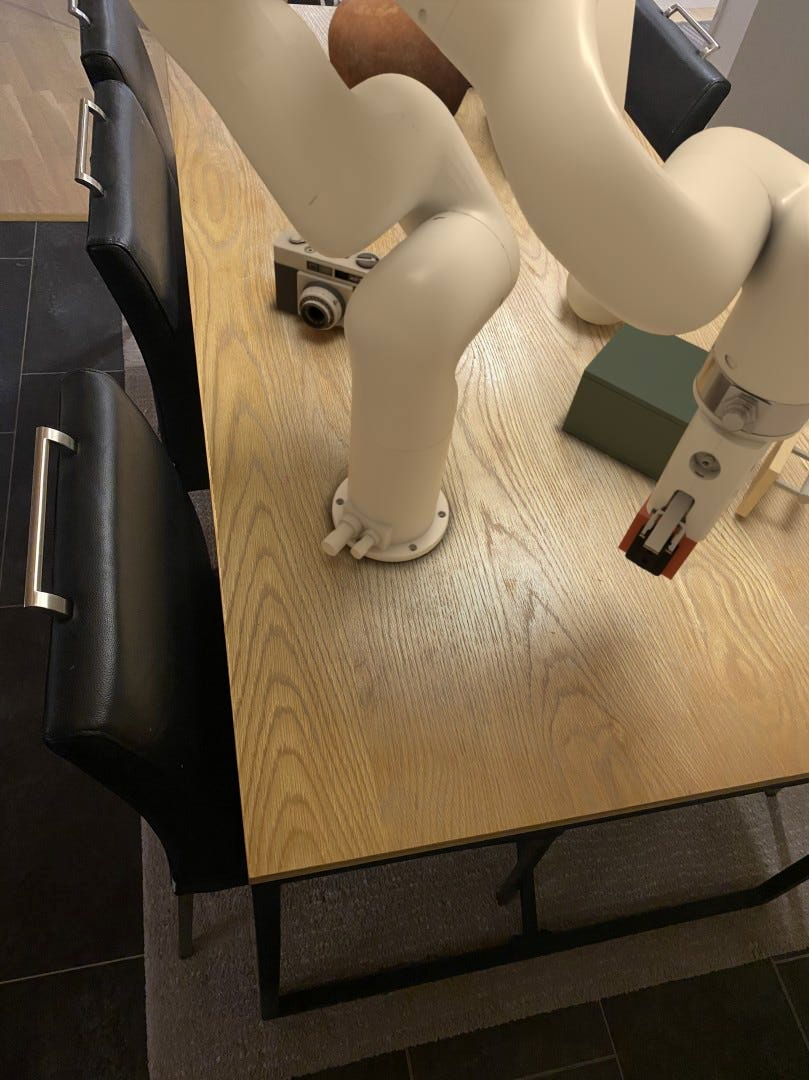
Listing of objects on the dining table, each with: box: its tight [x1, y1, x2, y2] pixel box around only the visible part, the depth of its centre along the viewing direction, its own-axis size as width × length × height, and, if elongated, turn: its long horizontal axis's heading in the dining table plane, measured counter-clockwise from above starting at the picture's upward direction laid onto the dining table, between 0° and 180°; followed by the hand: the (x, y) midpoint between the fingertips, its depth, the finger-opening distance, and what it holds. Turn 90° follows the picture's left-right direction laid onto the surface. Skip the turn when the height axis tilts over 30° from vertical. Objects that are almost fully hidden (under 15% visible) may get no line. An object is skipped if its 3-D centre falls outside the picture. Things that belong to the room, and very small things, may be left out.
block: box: [617, 491, 699, 581], centre depth 62 cm, size 5×5×5 cm
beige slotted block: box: [597, 0, 636, 116], centre depth 120 cm, size 19×15×25 cm
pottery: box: [327, 0, 470, 118], centre depth 119 cm, size 23×23×25 cm
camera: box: [272, 227, 386, 331], centre depth 95 cm, size 14×8×10 cm, turn 70°
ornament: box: [565, 272, 623, 326], centre depth 100 cm, size 10×10×12 cm
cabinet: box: [561, 322, 709, 482], centre depth 89 cm, size 15×13×10 cm
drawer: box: [735, 419, 809, 518], centre depth 86 cm, size 18×11×8 cm, turn 55°
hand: (658, 541), depth 64 cm, fingers closed on block, 5 cm apart
